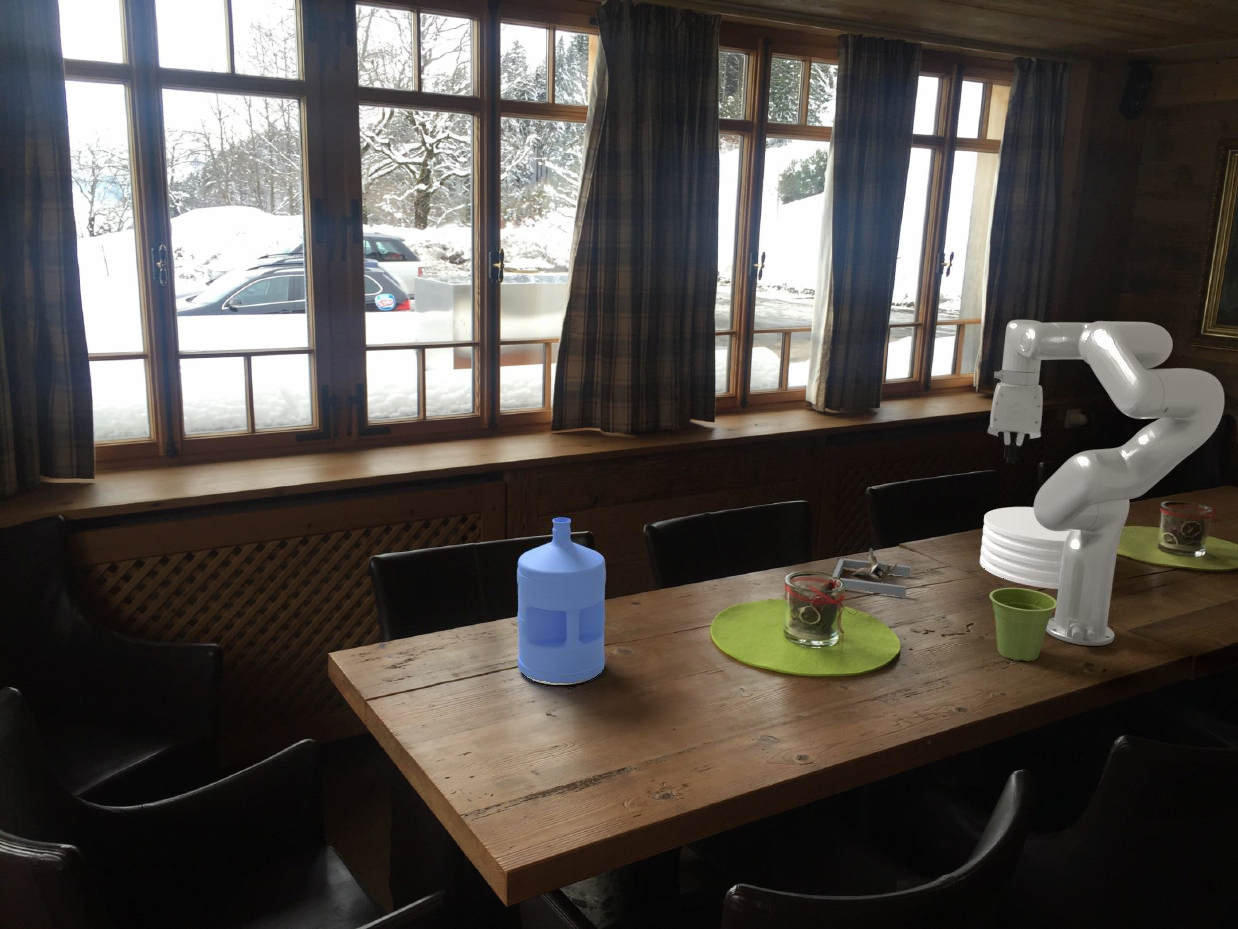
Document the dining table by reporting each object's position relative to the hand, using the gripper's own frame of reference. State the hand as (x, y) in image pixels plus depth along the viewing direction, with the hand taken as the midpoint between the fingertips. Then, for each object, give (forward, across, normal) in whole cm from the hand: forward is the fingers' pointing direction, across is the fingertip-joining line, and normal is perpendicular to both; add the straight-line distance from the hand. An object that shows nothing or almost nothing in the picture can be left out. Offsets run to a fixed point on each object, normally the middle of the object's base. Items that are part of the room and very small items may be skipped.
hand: (1010, 461), depth 218 cm
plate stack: (+30, +10, +18) cm, 36 cm away
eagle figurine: (+29, -27, -4) cm, 40 cm away
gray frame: (+29, -27, -7) cm, 40 cm away
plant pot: (+29, +3, -37) cm, 47 cm away
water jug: (+29, -75, -74) cm, 109 cm away
